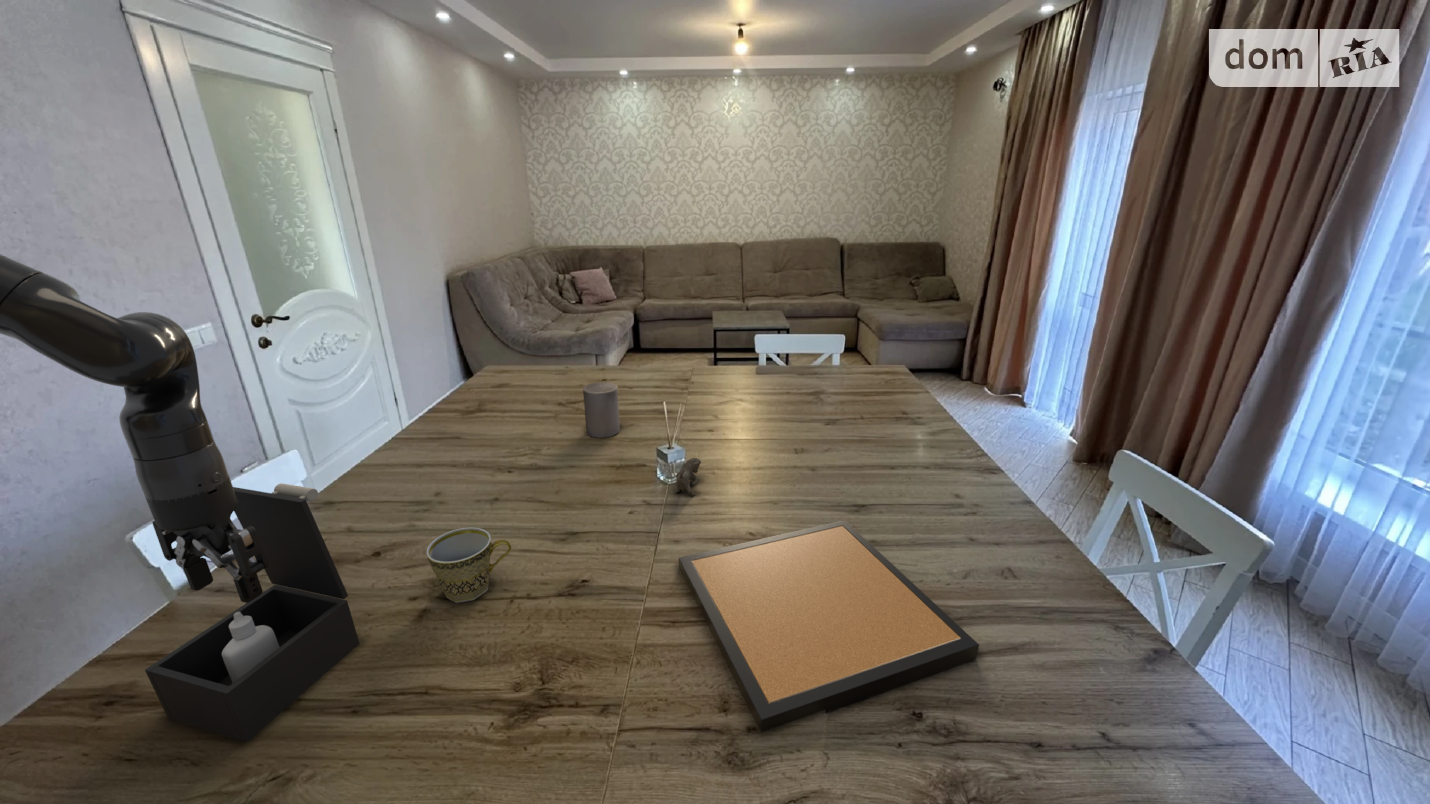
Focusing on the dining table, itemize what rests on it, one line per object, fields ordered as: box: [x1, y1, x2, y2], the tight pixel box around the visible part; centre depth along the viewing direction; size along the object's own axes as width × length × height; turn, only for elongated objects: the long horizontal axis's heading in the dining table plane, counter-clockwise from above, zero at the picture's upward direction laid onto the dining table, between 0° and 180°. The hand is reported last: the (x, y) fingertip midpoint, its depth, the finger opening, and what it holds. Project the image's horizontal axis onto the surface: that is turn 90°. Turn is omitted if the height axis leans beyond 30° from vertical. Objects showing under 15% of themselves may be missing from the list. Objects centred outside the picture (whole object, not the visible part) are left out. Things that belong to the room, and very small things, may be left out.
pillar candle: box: [582, 381, 621, 439], centre depth 158 cm, size 10×10×15 cm
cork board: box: [678, 519, 980, 733], centre depth 91 cm, size 36×3×35 cm
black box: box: [144, 584, 360, 743], centre depth 77 cm, size 17×14×9 cm
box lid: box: [233, 482, 349, 600], centre depth 81 cm, size 18×14×5 cm
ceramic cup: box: [425, 527, 512, 604], centre depth 94 cm, size 13×10×10 cm
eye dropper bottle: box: [222, 612, 279, 683], centre depth 75 cm, size 4×6×12 cm
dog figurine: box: [675, 457, 702, 497], centre depth 129 cm, size 12×6×7 cm, turn 167°
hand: (227, 592), depth 72 cm, fingers open, 8 cm apart
